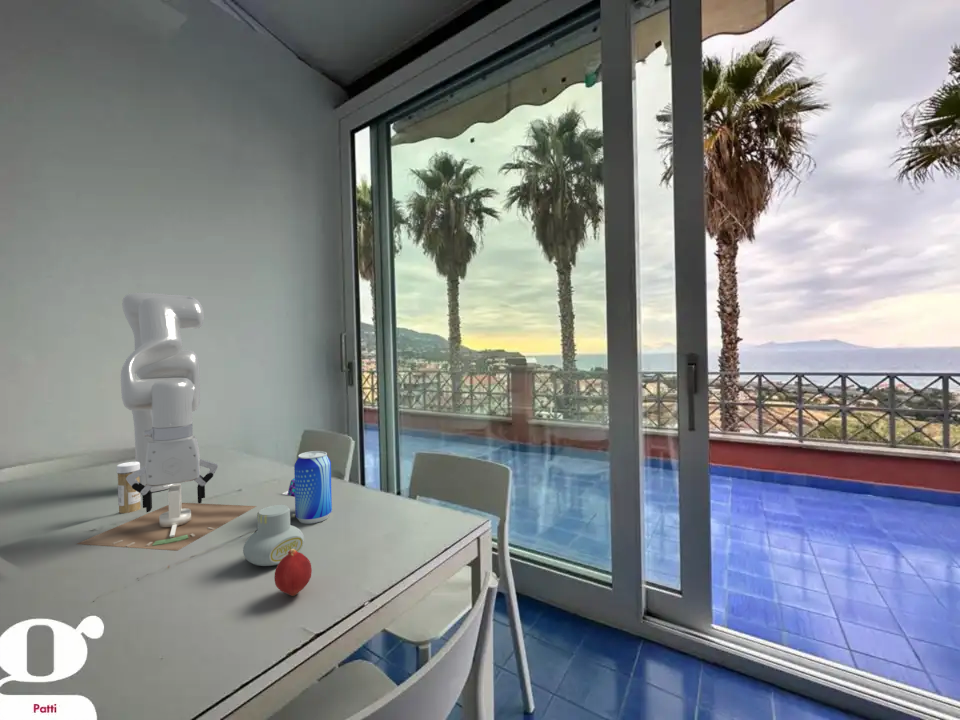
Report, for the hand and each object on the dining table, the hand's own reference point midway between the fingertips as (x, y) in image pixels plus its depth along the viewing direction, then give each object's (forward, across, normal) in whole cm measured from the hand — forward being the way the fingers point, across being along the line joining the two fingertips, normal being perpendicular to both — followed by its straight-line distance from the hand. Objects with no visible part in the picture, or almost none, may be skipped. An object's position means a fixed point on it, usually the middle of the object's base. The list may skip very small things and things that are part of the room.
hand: (175, 505), depth 98 cm
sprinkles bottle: (+6, -11, +17) cm, 21 cm away
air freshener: (+6, +18, -28) cm, 34 cm away
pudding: (+6, +29, +8) cm, 31 cm away
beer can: (+6, +29, -11) cm, 31 cm away
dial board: (+6, 0, 0) cm, 6 cm away
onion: (+6, +20, -44) cm, 48 cm away
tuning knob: (+4, 0, -3) cm, 5 cm away
